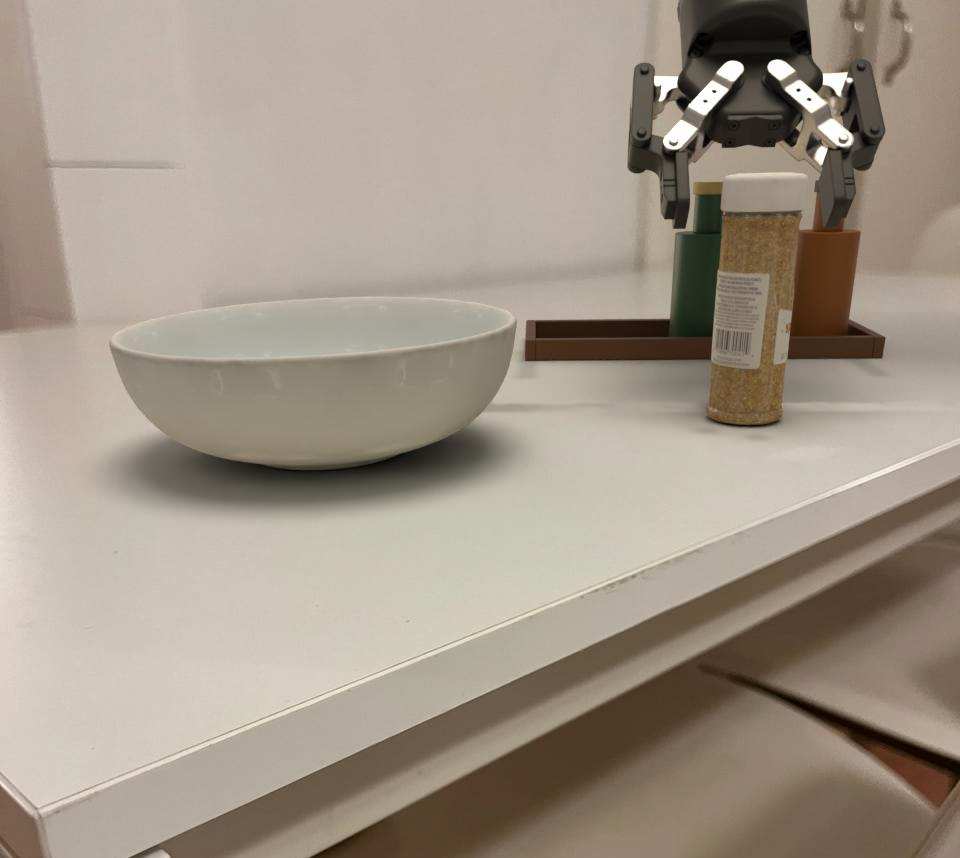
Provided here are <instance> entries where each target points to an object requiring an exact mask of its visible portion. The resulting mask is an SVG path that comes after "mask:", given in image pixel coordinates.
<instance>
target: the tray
mask: <svg viewBox="0 0 960 858" xmlns="http://www.w3.org/2000/svg"><path fill="white" fill-rule="evenodd" d="M669 326H670V318H604V319H603V318H602V319H600V318H599V319H598V318H597V319H596V318H595V319H594V318H593V319H592V318H591V319H526V321H525V335H524V336H525V337H524V361H525V362H576V361H577V362H579V361H582V362H584V361H585V362H586V361H587V362H590V361H591V362H592V361H600V362H601V361H698V360H699V361H709V360H710V361H711V353H712V339H713V337H669ZM885 343H886V336H885V335H882V334H880V333H879V332H876V331H874V330H873V329H871V328H868V327H867V326H864V325H863V324H860V323H859V322H856V321H855V320H852V319H851V318H849V323H848V330H847V336H790V337H789V347H788V358H787V360H851V359H852V360H857V359H859V360H861V359H864V360H867V359H871V360H872V359H875V360H876V359H883V357H884V351H885Z"/></svg>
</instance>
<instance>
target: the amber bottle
mask: <svg viewBox="0 0 960 858" xmlns="http://www.w3.org/2000/svg"><path fill="white" fill-rule="evenodd" d="M818 180H819V179H817V180H815V181H814V188H813V191H814V193H816V196H815V204H814V205H815V206H814V212H813V221H812V229H811V228H810V229H807V228H806V229H799V233H798V236H799V239H798V248H797V256H796V265H795V273H794V297H793V307H792V317H791V327H790V336H847V330H848V323H849V319H850V315H851V309H852V308H851V307H852V299H853V294H854V293H853V292H854V286H855V278H856V270H857V264H858V256H859V248H860V241H861V233H862V231H861V230H857V229H847V228H846V229H844V224H845V218H841V220H840V223H839V225H838V227H837V228H824V227H823V219H822V210H821V201H820V191H819V182H818Z"/></svg>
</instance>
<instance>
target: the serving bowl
mask: <svg viewBox="0 0 960 858" xmlns="http://www.w3.org/2000/svg"><path fill="white" fill-rule="evenodd" d="M517 322H518V320H517V318H516V316H515V315H514V314H513V313H512V312H510V311H509V310H507V309H504V308H502V307H498V306H495V305H490V304H485V303H480V302H476V301H475V302H474V301H467V300H460V299H451V298H450V299H449V298H438V297H437V298H435V297H420V296H419V297H417V296H416V297H415V296H343V297H342V296H341V297H320V298H319V297H318V298H302V299H301V298H299V299H287V300H272V301H259V302H251V303H241V304H232V305H224V306H216V307H210V308H203V309H195V310H189V311H184V312H179V313H174V314H169V315H163V316H160V317H154V318H151V319H147V320H144V321H141V322H137V323H135V324H132V325H129V326H126V327H124V328H122V329H120V330H118V331H116V332H114V333H113V335H111V336H110V338H109V341H108V342H109V343H108V346H109V349H110V353H111V355H112V358H113V361H114V364H115V367H116V371H117V373H118V375H119V377H120V380H121V382H122V383H121V384H122V385H123V387H124V389H125V391H126V392H127V394H128V396H129V398H130V399H131V401H132V402H133V404H134V405H135V406H136V409H138V410H139V412H141V414H143V416H144V417H145V418H146V419H147V420H148V421H149V422H150V423H151V424H152V425H153V426H155V427H156V428H157V429H158V430H159V431H161V432H162V433H164V434H165V435H166V436H168V437H169V438H171V439H172V440H174V441H176V442H177V443H179V444H181V445H183V446H184V447H187V448H189V449H191V450H192V449H193V450H195V451H197V452H200V453H203V454H206V455H210V456H213V457H216V458H221V459H225V460H229V461H236V462H242V463H248V464H257V465H261V466H264V467H268V468H269V467H270V468H275V469H280V470H291V471H329V470H340V469H348V468H356V467H362V466H367V465H371V464H376V463H379V462H383V461H386V460H389V459H392V458H394V457H397V456H399V455H401V454H404V453H408V452H411V451H415V450H418V449H421V448H424V447H427V446H430V445H432V444H435V443H437V442H439V441H443V440H444V439H446V438H448V437H451V436H452V435H454V434H456V433H458V432H459V431H461V430H462V429H464V428H466V427H467V426H468V425H469V424H471V423H472V422H473V421H474V420H475V419H477V418H478V417H479V416H480V415H481V414H482V413H483V412H484V411H485V410H486V409H487V408H488V406H489V405H490V404H491V403H492V401H493V400H494V399H495V397H496V396H497V394H498V393H499V390H501V387H502V385H503V383H504V381H505V379H506V377H507V374H508V371H509V369H510V365H511V360H512V356H513V352H514V348H515V347H514V346H515V339H516V331H517V324H518V323H517Z"/></svg>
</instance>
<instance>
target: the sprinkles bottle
mask: <svg viewBox="0 0 960 858" xmlns="http://www.w3.org/2000/svg"><path fill="white" fill-rule="evenodd" d="M808 177H809V176H808V175H807V174H806V173H799V172H795V171H790V172H789V171H788V172H786V171H784V172H783V171H780V172H779V171H778V172H776V171H775V172H740V173H739V172H738V173H734V174H728V175H726V176H724V178H723V179H722V182H723V186H722V196H721V210H722V211H723V212H724V215H723V216H722V219H723V227H722V239H721V248H720V262H719V269H718V274H717V287H716V299H715V312H714V325H713V339H712V353H711V360H710V361H711V373H710V374H711V375H710V376H711V377H710V386H709V397H708V404H707V407H706V415H707V416H708V417H709V418H710V419H711V420H713V421H716V422H719V423H722V424H729V425H730V424H731V425H739V426H755V425H760V426H761V425H767V424H771V423H773V422H776V421H778V420H779V419H781V418H782V416H783V414H784V408H783V394H784V386H785V373H786V366H787V361H788V359H787V358H788V347H789V337H790V327H791V317H792V307H793V297H794V273H795V265H796V256H797V248H798V239H799V236H798V233H799V230H800V224H801V220H802V219H803V213H802V212H803V211H804V210H806V207H807V201H808V200H807V199H808V188H809V187H808V186H809V178H808Z"/></svg>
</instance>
